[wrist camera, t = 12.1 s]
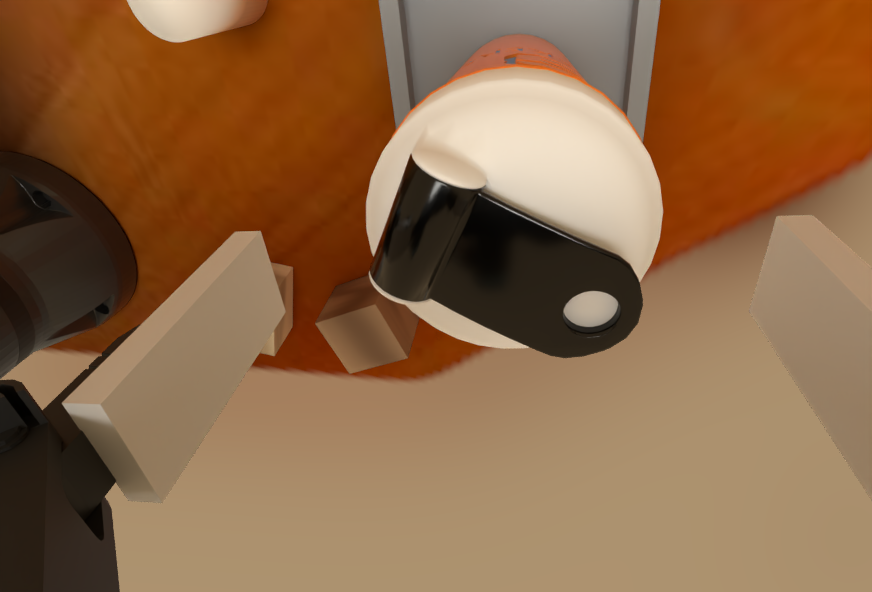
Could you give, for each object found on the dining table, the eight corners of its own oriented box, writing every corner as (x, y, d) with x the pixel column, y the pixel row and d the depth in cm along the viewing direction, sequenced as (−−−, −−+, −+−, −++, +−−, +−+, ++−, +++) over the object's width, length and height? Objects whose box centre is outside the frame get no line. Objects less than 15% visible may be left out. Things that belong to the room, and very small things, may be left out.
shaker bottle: (562, 190, 32) (603, 434, 16) (425, 154, 32) (323, 362, 16) (620, 37, 27) (770, 161, 11) (458, -6, 27) (359, 53, 11)
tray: (415, 207, 35) (408, 223, 33) (385, -31, 28) (374, -30, 26) (626, 200, 33) (633, 217, 31) (656, -61, 26) (668, -63, 23)
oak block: (247, 315, 43) (225, 345, 40) (244, 255, 40) (219, 282, 37) (293, 325, 43) (274, 356, 40) (293, 266, 40) (273, 294, 37)
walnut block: (366, 333, 43) (349, 373, 39) (336, 285, 40) (314, 323, 36) (419, 317, 41) (407, 358, 37) (391, 266, 39) (375, 304, 35)
